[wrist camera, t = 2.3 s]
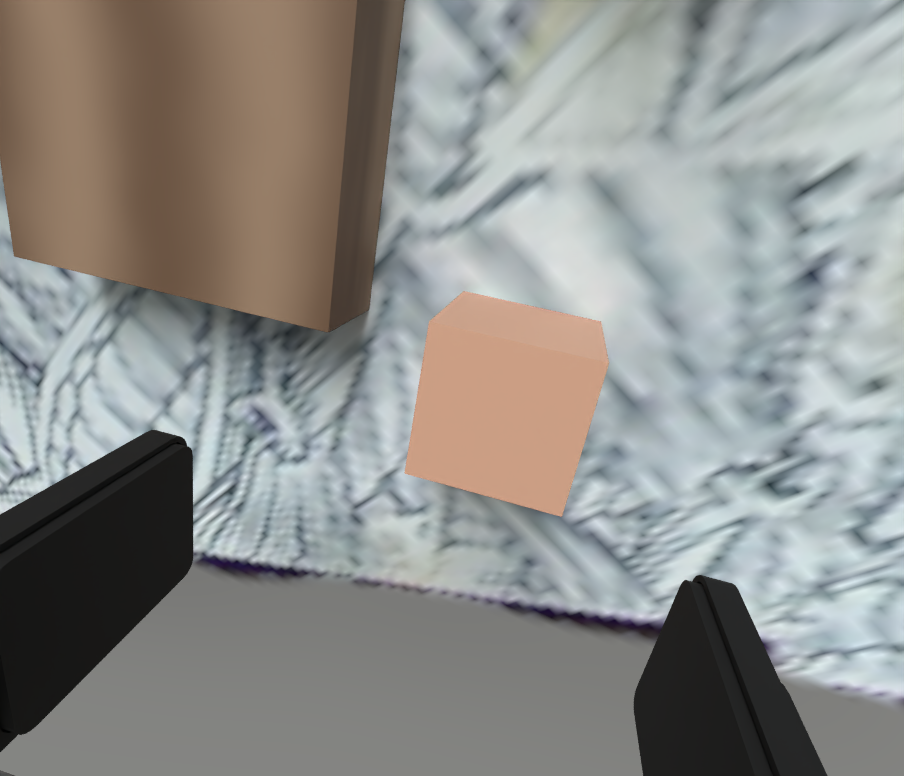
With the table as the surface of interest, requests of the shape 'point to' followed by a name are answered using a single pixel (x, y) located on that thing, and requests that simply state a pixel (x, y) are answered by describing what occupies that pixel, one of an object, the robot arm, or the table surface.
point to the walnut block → (203, 146)
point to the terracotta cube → (506, 400)
